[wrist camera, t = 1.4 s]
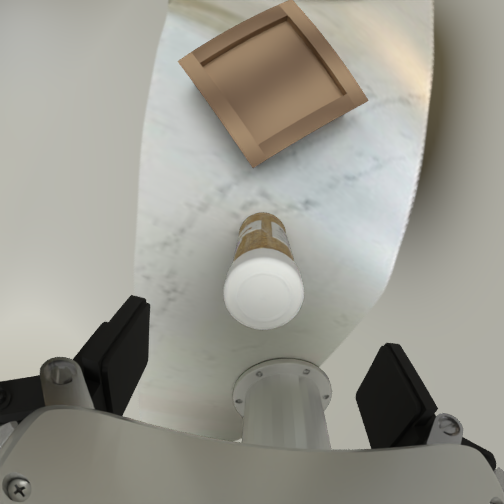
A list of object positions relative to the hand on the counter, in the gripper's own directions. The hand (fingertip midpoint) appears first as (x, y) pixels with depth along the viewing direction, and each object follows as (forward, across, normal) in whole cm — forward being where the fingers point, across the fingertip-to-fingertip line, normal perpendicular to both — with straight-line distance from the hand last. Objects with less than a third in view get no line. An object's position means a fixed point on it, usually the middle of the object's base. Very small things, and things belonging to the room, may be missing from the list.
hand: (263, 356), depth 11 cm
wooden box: (+19, +2, -13) cm, 23 cm away
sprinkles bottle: (+19, 0, 0) cm, 19 cm away
